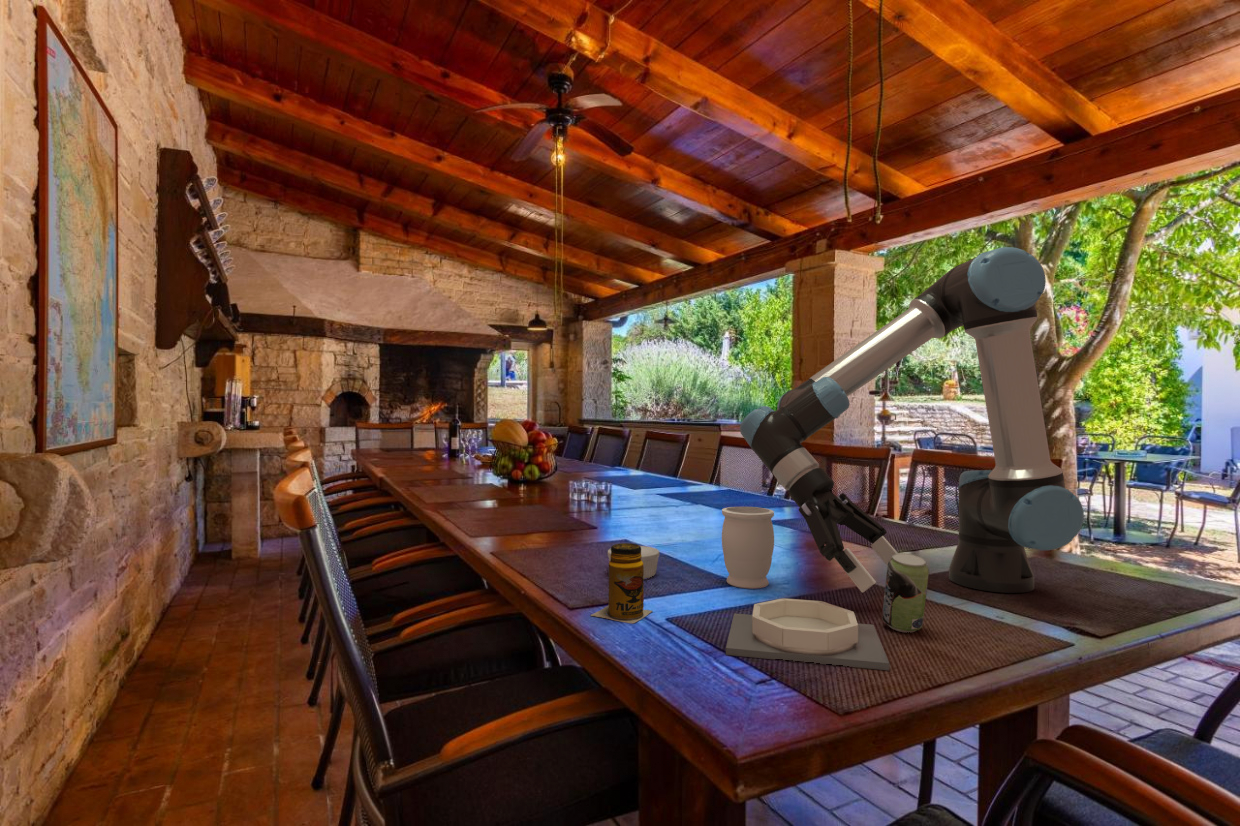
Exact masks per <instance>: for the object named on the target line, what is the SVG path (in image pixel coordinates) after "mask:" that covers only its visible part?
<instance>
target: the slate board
mask: <svg viewBox="0 0 1240 826" xmlns="http://www.w3.org/2000/svg"><path fill="white" fill-rule="evenodd" d="M752 615H753V614H746V613H745V614H744V613H735V612H734V613H733V616H732V621H731V625H730V630H729V634H728V637H727V641H726V646H725V656H734V657H746V658H755V659H765V660H766V659H767V660H775V659H783V660H782V661H785V660H793V661H792V662H795V661H804V662H803V663H805V662H814V663H813V664H816V663H820V664H819V665H826V664H832V665H831V666H836V665H843V666H842V667H847V666H849V667H848V668H856V669H857V668H859V669H867V670H869V669H870V670H880V671H888V672H889V671H890V662H889V658H888V657H887V654H886V652H885V650H884V647H883V645H882V642H881V640H880V637H879V635H878V632H877V630H876V627H875V625H874V624H870V623H869V624H866V623H858V642H857V643H856V644H855V646H854V647H853V648H851V649H850V650H848V651H845V652H841V653H836V654H827V655H811V654H800V653H794V652H788V651H784V650H780V649H777V648H773V647H771V646H768V645H766V644H764V643H762V642H761V641H759V640H758V639H757V638H756V637H755V636H754V634H753V633H752ZM775 661H776V660H775Z"/></svg>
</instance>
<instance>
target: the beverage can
mask: <svg viewBox="0 0 1240 826" xmlns="http://www.w3.org/2000/svg"><path fill="white" fill-rule="evenodd" d="M897 553H898V552H897ZM926 562H927V561H926V559H924V558H922V557H921V556H918V555H916V554H910V553H904V552H903V553H902V552H899V553H898V554H894V555H893V556H892V559H891V560H890V561H889V562H888V566H887V565H886V578H885V579H886V580H885V586H884V587H885V588H884V597H883V604H882V605H883V607H882V614H881V615H882V616H881V618H882V621H883V622H884V624H886V625H887V626H888V627H889V628H890V629H892V630H895V631H897V632H902V633H907V632H908V633H909V632H910V633H914V632H916V631H919V630H921V629H922V628H923V625H924V624H923V623H924V615H925V608H926V599H927V591H928V581H929V574H930V572H929V567H928V565H927V564H926Z"/></svg>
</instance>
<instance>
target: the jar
mask: <svg viewBox="0 0 1240 826" xmlns="http://www.w3.org/2000/svg"><path fill="white" fill-rule="evenodd" d="M774 512H775V511H774V510H772V509H770V508H765V507H759V506H729V507H724V508H722V509H721V513H722V515H723V517H724V520H723V523H722V526H721V527H722V529H721V547H722V554H723V561H724V565H725V569H726V570H727V573H728V576H727V578H726V582H727V583H726V584H728V585H730V586H732V587H734V588H735V587H736V588H741V589H742V588H743V589H751V590H752V589H753V590H754V589H762V588H765V587H767V586H769V583H770V582H769V579H768V578H767V575H769V572H770V570H771V566H772V560H773V553H774V548H775V531H774V525H773V522H772V518H774V516H775V513H774Z"/></svg>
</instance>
